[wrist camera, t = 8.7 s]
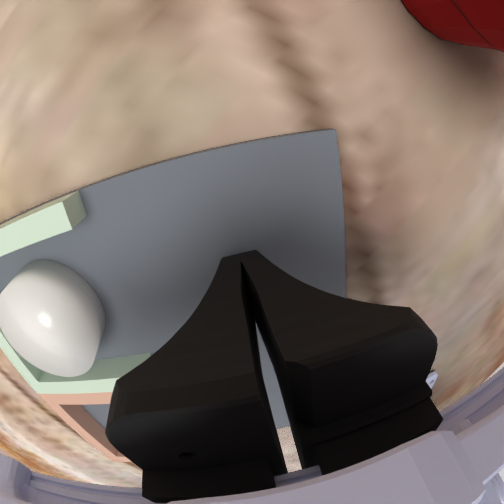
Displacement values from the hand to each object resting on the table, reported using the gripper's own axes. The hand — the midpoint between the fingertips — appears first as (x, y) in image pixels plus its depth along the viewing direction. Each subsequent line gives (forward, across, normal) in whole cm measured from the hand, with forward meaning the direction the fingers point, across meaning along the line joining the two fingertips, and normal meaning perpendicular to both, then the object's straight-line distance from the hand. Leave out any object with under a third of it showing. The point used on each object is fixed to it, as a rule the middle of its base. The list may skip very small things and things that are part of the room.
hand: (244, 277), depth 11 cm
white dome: (+1, +9, 0) cm, 9 cm away
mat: (+1, +5, +4) cm, 7 cm away
